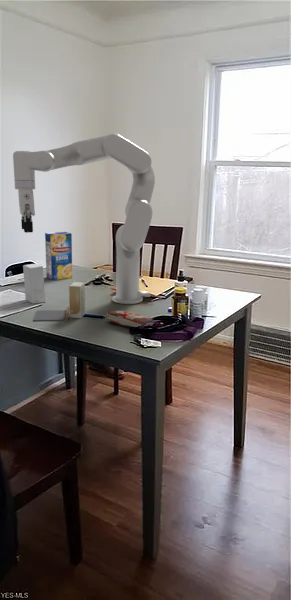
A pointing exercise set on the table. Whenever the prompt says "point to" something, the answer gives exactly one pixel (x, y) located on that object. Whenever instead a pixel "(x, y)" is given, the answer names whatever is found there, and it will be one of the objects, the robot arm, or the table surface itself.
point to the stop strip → (67, 314)
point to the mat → (50, 315)
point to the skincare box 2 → (77, 299)
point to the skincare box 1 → (34, 283)
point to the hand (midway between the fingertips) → (27, 230)
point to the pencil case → (129, 319)
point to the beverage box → (58, 255)
